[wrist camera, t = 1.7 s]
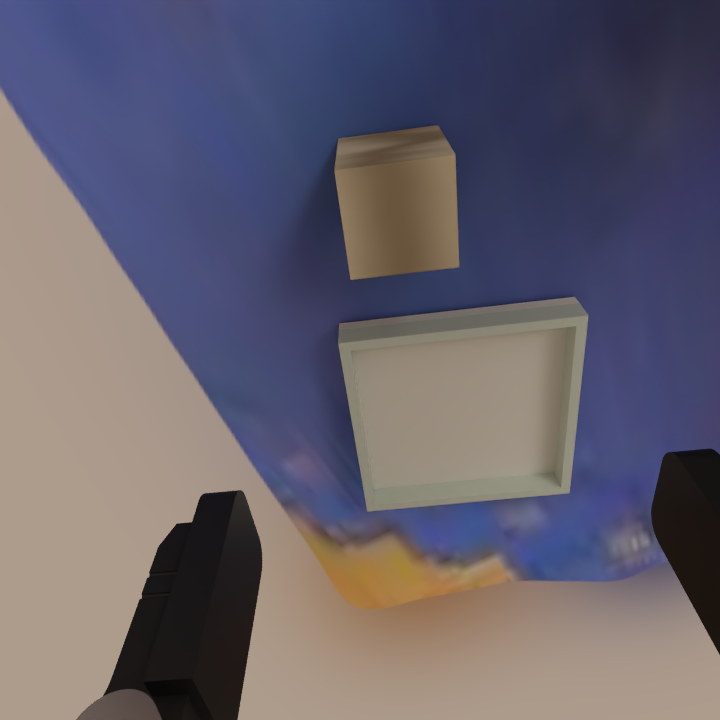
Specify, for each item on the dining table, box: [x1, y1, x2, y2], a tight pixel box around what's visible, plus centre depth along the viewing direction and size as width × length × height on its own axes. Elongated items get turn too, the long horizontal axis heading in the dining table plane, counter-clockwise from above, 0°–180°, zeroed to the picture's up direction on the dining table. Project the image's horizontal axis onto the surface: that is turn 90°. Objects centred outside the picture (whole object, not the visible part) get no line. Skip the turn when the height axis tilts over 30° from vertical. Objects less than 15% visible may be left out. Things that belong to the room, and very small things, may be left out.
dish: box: [338, 297, 588, 512], centre depth 37 cm, size 14×14×2 cm
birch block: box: [334, 125, 459, 280], centre depth 27 cm, size 5×5×6 cm
